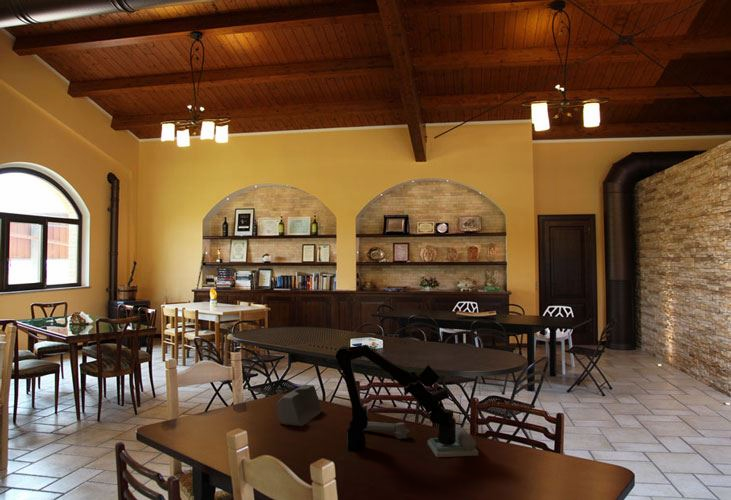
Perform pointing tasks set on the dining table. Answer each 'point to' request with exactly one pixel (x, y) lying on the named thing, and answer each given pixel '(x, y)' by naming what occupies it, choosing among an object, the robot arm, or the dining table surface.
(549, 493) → the dining table surface
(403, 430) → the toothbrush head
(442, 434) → the supplement bottle
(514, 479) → the dining table surface
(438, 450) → the motor mount
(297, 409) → the grey faceted block
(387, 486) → the dining table surface
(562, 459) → the dining table surface
